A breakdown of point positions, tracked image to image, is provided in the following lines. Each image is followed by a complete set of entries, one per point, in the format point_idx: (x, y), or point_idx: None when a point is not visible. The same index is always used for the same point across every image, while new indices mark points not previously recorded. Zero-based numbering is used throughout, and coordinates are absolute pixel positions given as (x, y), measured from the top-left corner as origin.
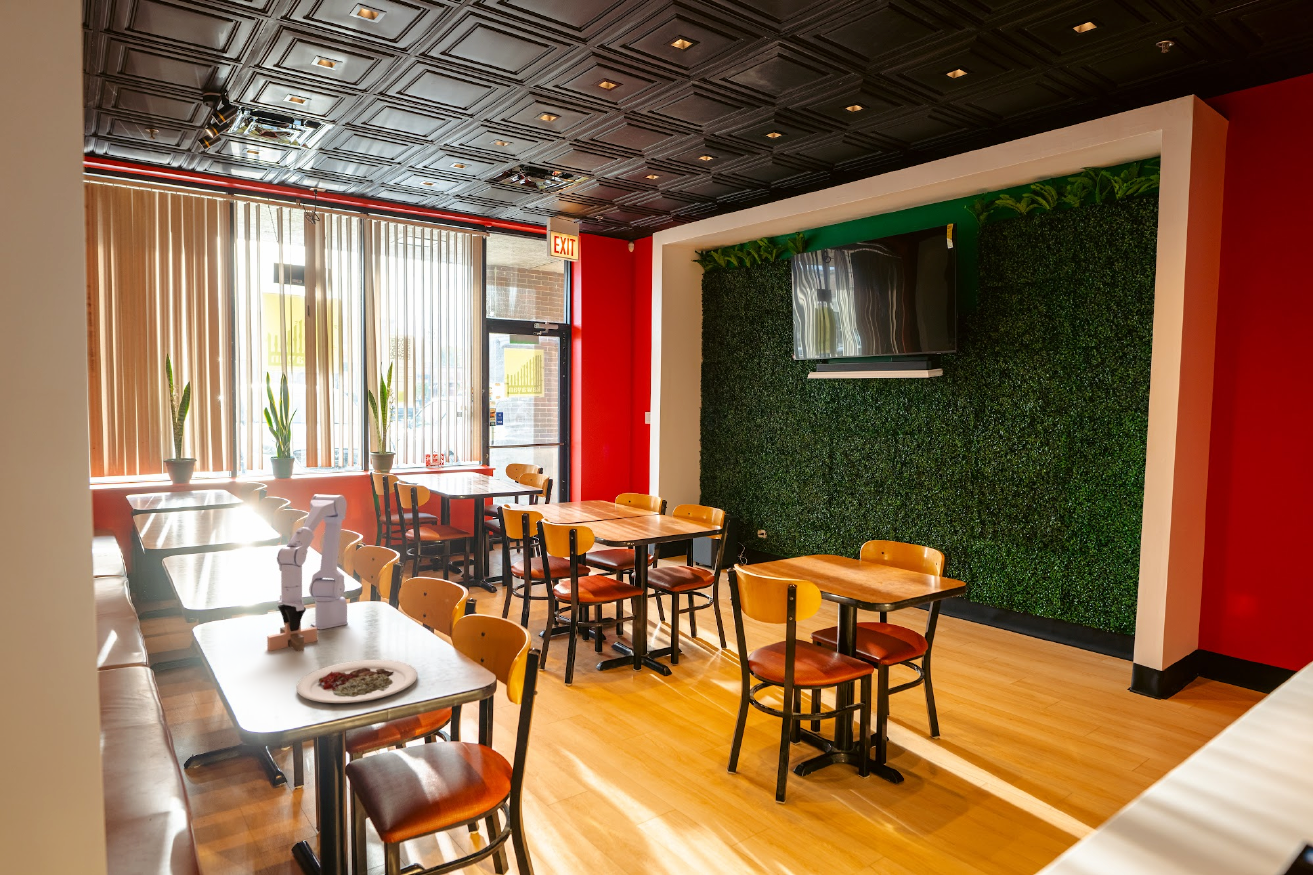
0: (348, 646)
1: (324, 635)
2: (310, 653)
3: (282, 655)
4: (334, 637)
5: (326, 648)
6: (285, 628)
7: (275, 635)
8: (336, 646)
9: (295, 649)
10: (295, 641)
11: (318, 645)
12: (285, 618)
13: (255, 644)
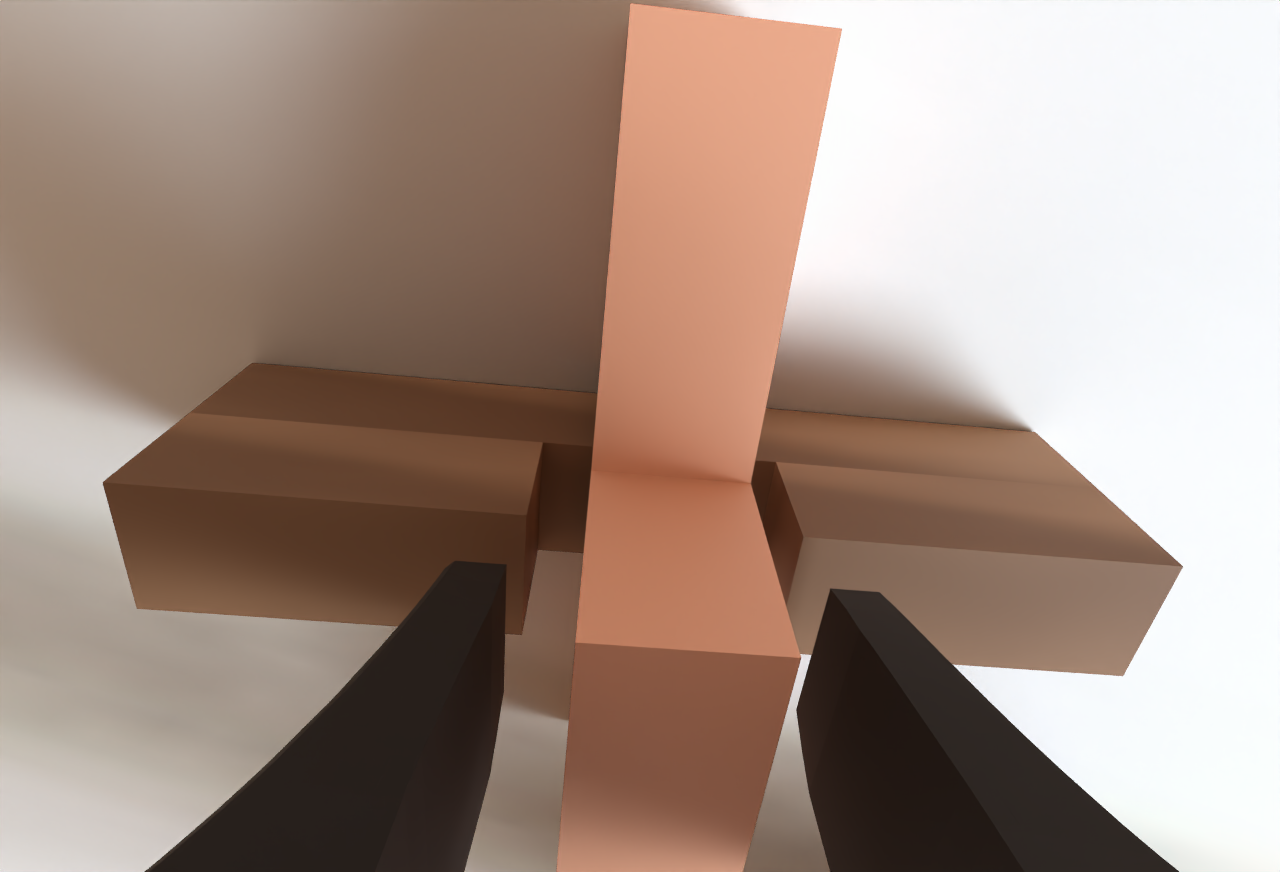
0: (87, 829)
1: None
2: (17, 451)
3: (153, 70)
4: (546, 862)
5: (150, 669)
6: (714, 548)
7: (712, 233)
8: (167, 761)
9: (320, 373)
10: (254, 441)
11: (354, 659)
12: (948, 820)
13: (1264, 5)
